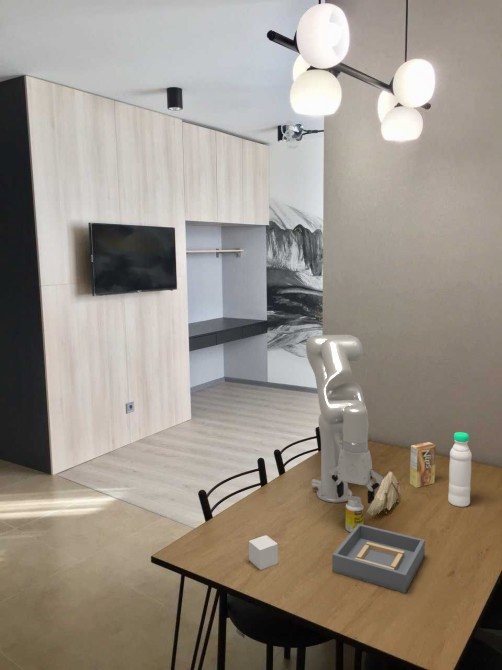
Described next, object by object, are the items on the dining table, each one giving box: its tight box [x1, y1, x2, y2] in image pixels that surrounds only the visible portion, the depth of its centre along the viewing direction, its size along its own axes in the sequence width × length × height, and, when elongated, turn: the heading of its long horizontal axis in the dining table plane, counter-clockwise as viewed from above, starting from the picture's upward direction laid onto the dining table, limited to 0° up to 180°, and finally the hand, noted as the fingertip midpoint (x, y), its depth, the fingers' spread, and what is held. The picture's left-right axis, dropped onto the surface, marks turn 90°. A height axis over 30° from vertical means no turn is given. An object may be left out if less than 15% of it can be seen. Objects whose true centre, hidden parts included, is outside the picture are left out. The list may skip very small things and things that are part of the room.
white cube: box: [248, 534, 279, 571], centre depth 156 cm, size 6×6×6 cm
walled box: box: [331, 524, 426, 594], centre depth 154 cm, size 20×20×5 cm
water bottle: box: [447, 431, 473, 508], centre depth 188 cm, size 7×7×25 cm
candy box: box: [409, 441, 437, 488], centre depth 205 cm, size 9×4×15 cm, turn 116°
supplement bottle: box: [344, 495, 365, 533], centre depth 173 cm, size 6×6×10 cm
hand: (355, 499), depth 171 cm, fingers open, 9 cm apart
